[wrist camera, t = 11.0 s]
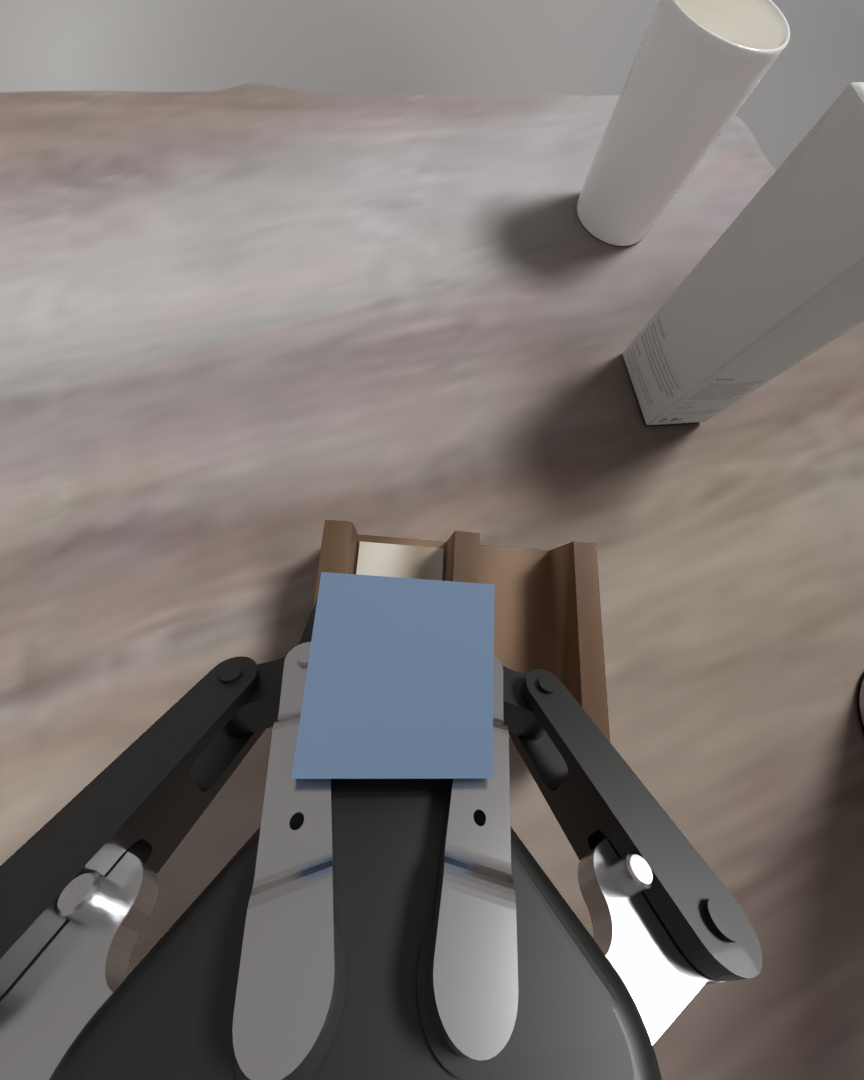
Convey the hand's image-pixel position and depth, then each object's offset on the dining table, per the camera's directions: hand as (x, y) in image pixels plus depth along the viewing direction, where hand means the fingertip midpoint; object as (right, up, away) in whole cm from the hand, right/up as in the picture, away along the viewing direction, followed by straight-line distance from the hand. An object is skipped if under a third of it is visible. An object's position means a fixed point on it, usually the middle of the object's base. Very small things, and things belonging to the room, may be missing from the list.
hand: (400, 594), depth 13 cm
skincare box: (+23, +17, +15) cm, 32 cm away
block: (-1, -3, +5) cm, 6 cm away
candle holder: (+21, +37, +20) cm, 47 cm away
